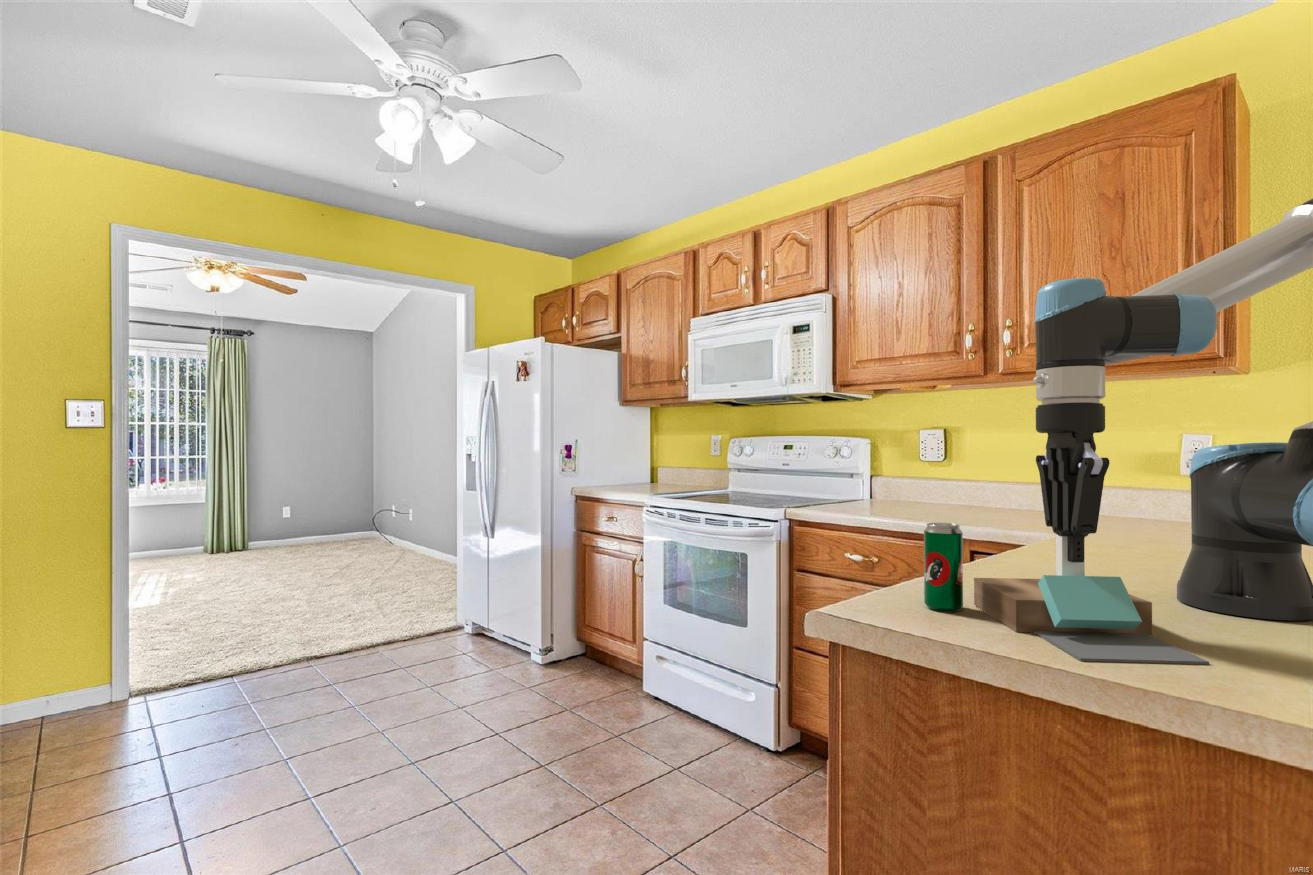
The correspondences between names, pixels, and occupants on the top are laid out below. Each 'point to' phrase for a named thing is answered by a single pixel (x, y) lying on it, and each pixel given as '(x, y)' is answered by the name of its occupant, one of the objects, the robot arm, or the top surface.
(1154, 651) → the mat
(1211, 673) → the top surface
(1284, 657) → the top surface
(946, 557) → the soda can
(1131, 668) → the top surface
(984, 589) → the brown wooden flat block
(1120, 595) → the teal rectangular block
